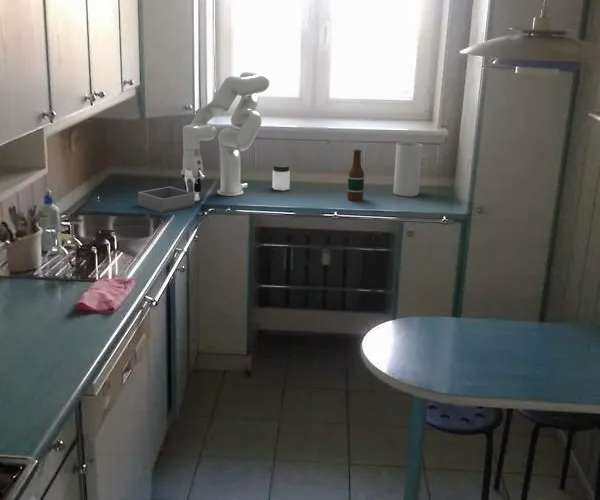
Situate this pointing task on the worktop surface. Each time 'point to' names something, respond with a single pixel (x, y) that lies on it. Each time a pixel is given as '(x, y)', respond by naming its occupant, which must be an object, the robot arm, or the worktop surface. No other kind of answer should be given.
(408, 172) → the cylinder vase
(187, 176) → the beer glass
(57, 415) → the worktop surface
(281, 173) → the jar
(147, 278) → the worktop surface
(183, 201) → the bin
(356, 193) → the beer bottle
